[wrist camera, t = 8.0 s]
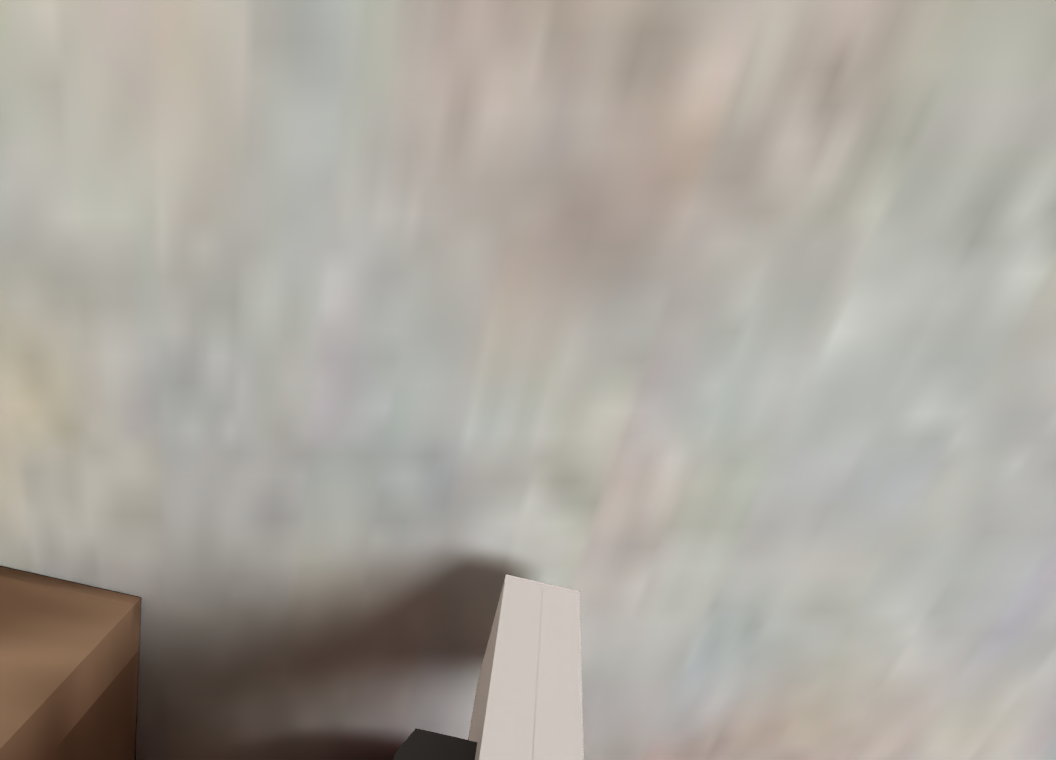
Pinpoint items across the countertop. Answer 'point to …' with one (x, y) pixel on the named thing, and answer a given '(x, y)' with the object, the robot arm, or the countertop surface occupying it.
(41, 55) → the countertop surface
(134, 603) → the button box
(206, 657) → the countertop surface
